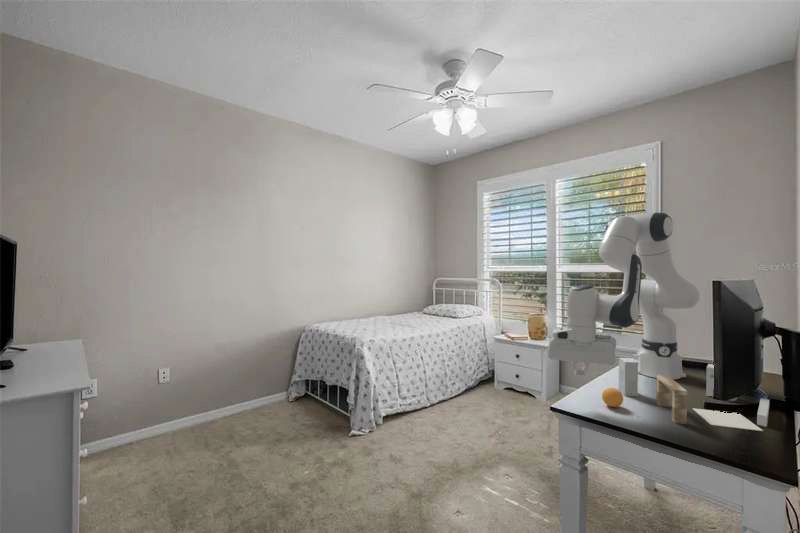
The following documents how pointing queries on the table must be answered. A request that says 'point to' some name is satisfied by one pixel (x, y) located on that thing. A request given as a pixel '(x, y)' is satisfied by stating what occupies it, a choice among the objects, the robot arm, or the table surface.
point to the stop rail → (763, 412)
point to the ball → (612, 397)
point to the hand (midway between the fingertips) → (579, 375)
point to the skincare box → (628, 376)
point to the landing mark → (727, 419)
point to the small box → (710, 380)
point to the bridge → (677, 398)
